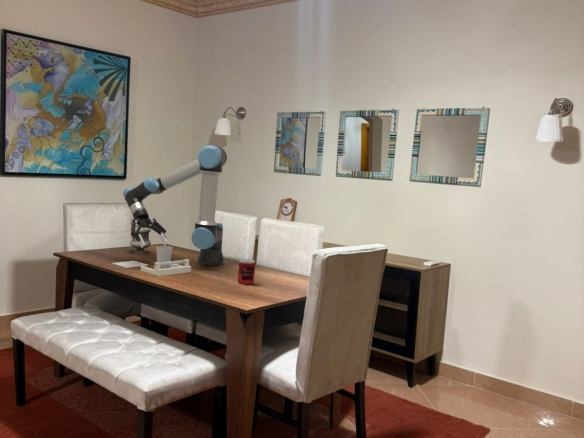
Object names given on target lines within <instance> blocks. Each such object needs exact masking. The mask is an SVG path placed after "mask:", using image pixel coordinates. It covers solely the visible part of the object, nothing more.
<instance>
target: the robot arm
mask: <svg viewBox="0 0 584 438" xmlns="http://www.w3.org/2000/svg"><path fill="white" fill-rule="evenodd" d="M227 155H228V154H227V152H226V150H225V149H224V148H222V147H220V146H216V145H212V144H211V145H206V146H204V147H202V148H200V150H199V152H198V155H197V159H195V160H193V161H192V162H190V163H188V164H186V165H184V166H182V167H179V168H177V169H175V170H173V171H171V172H169V173H167V174H165V175H162V176H161V177H158V178H156V179H155V177H152V176H149V177H148V178H146V179H145V180H144V181H142V182H141V183H139V184H138V185H137V186H136V187H134V186H129V187H127V188H125V189H124V190H123V193H122V195H123V197H124V200H125V202H126V204H127V207H128V209H129V211H130V213H131V215H132V217H133V218H132V220H131V221H130V224H131V227H130V228H131V230H130V236H131V237H132V236H134V238H136V239H137V241H138V242H139V243H140V246H141V248H143V246H144V245H145V243H144V241H143V239H142V237H141V235H140V234H139V232H140V229H141V227H142V228H149V229H151V231H154V232H155V233H156V234H158V236H159V238H160V241H161V242H162V244H163V245H162V246H167V244H168V241H167V237H166V235H165V234H166V233H167V230H166V229H165V228H164V227H163V226H162V225H161V224H160V223H159V222H158V221H157V220H156V218H155V217H154V218H152V219H151V218H150V216H149V213H148V210H147V209H146V207H145V204H144V203H143V200H145V199H146V198H148V197H149V196H151V195H160V194H162V193H164V191H166V190H169V189H171V188H173V187H175V186H177V185H179V184H182V183H185V182H186V181H188V180H190V179H192V178H195V177H197V176H198V175H200V174H201V181H200V182H201V183H200V192H199V193H200V194H199V207H198V219H197V220H195V223H194V229H193V231H192V233H191V239H190V240H191V242H192V245H194V246H195V247H196V248H197V249H200V250H199V252H198V255H197V258H196V264H197V265H200V266H205V267H206V266H208V267H211V266H212V267H220V266H224V264H225V258H224V254H223V237H224V236H223V235H224V225H223V224H222V223H219V222H216V212H217V211H216V209H217V199H218V185H219V176H220V175H221V174H222V173H223V166H225V164H226V163H227V160H228V156H227ZM136 223H137V224H138V225H139V226H138V229H137V231H136V233H135V227H136ZM138 234H139V235H138Z"/></svg>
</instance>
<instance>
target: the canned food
mask: <svg viewBox="0 0 584 438" xmlns="http://www.w3.org/2000/svg"><path fill="white" fill-rule="evenodd" d="M255 272H256V260H254V259H249V258H248V259H247V258H246V259H245V258H244V259H243V258H242V259H239V260H238V271H237V273H238V274H237V275H238V276H237V282H238V284H239V285H241V284H244V285H243V286H251V285H250V284H253V285H254V283H255V274H256V273H255Z"/></svg>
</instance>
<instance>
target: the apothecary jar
mask: <svg viewBox="0 0 584 438" xmlns="http://www.w3.org/2000/svg"><path fill="white" fill-rule="evenodd" d="M138 226H139V225H138V224H137V223H136V227H135V233H136V231H137V229H138ZM129 231H131V227H130V230H129ZM151 231H152V229H149V228H142V227H141V229H140V232H139V234H140V235H141V237H142V239H143V241H144V243H145V245H144V246H143V248H141V246H140V243H139V242H138V241H137V239H136V238H134V236H131V240H130V241H129V245H130V246H131V247H132V248H134V250H132V251H131V254H133V253H134V254H135V255H146V254H149V250H145V249H146V248H149V247H151V245H152V242H151V240H150V238H149V237H150V232H151ZM139 234H138V235H139ZM134 254H133V255H134Z"/></svg>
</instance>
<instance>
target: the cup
mask: <svg viewBox="0 0 584 438" xmlns="http://www.w3.org/2000/svg"><path fill="white" fill-rule="evenodd" d="M155 249H156V263H157V262H159V263H161V262H170V261H172V254H173V247H172V246H167V245H165V246H164V245H159V246H156V248H155ZM165 268H171V267H170V265H163V266H160V269H165Z"/></svg>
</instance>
